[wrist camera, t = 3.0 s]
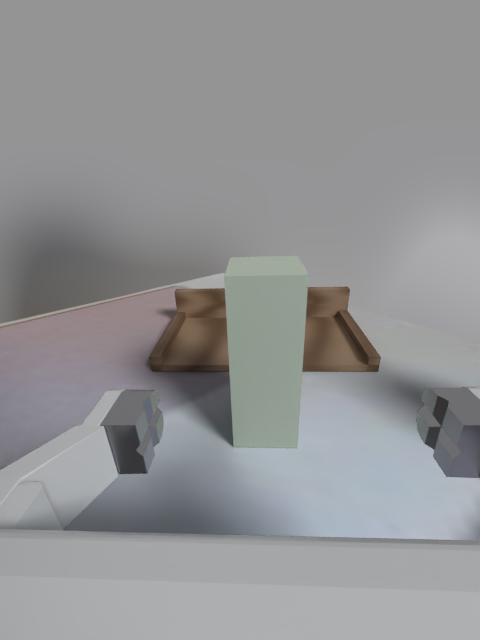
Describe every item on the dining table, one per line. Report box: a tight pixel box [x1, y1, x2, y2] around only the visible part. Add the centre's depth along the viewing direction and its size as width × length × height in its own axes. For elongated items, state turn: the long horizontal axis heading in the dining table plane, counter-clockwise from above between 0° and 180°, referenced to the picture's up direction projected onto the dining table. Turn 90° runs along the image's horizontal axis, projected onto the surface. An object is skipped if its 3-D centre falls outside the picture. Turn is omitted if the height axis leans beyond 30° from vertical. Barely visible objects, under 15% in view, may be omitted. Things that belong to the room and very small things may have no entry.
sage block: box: [224, 256, 309, 448], centre depth 23 cm, size 5×5×14 cm
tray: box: [150, 287, 381, 371], centre depth 38 cm, size 25×14×5 cm, turn 87°
